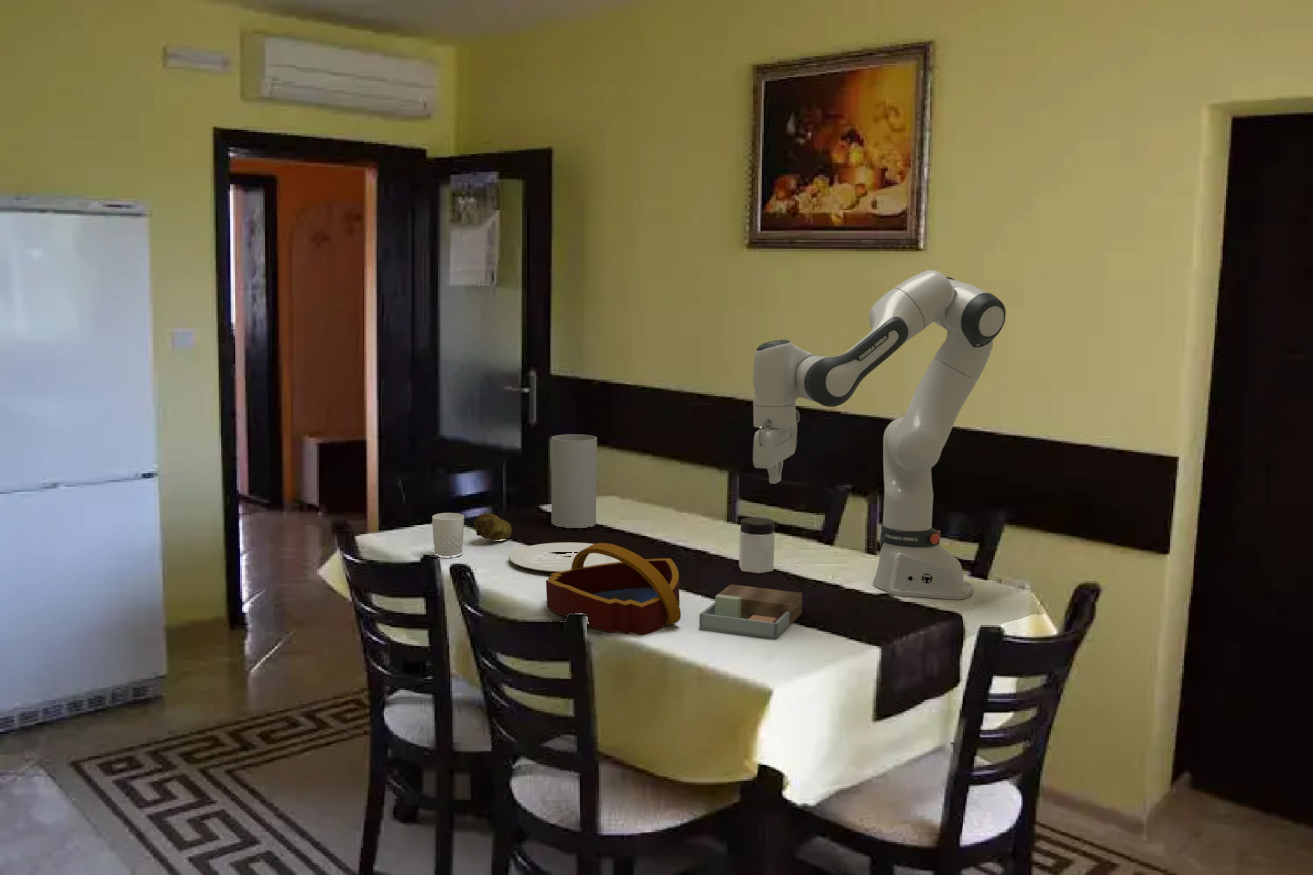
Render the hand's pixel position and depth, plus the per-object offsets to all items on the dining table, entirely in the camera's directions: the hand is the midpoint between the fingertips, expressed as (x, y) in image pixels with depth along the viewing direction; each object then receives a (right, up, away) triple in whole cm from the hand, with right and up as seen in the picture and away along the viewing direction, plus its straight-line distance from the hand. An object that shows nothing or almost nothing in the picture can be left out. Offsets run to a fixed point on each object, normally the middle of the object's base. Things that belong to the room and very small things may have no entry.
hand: (775, 482), depth 251 cm
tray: (-7, -29, -10) cm, 32 cm away
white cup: (-77, -20, +46) cm, 92 cm away
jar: (-1, -23, +38) cm, 44 cm away
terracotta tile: (-4, -27, -13) cm, 30 cm away
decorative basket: (-33, -28, +1) cm, 43 cm away
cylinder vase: (-49, -15, +82) cm, 97 cm away
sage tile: (-10, -26, -6) cm, 28 cm away
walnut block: (-4, -28, -1) cm, 28 cm away
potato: (-68, -18, +61) cm, 93 cm away
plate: (-47, -22, +41) cm, 66 cm away
